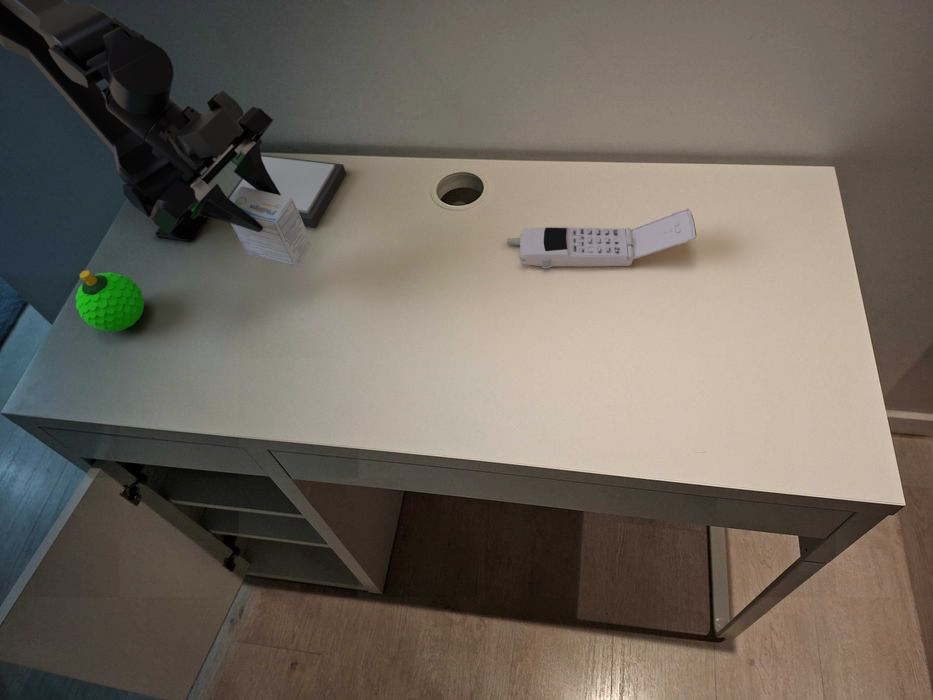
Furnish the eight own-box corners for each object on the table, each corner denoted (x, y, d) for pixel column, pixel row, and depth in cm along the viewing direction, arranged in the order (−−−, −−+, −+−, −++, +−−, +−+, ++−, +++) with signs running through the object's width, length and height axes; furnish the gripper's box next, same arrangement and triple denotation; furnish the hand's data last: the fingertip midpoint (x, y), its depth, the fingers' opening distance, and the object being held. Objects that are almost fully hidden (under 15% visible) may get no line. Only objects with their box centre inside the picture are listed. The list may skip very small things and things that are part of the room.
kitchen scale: (225, 216, 96) (219, 204, 94) (262, 163, 103) (256, 151, 101) (314, 229, 93) (309, 216, 91) (346, 173, 100) (342, 161, 98)
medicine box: (313, 245, 81) (294, 196, 73) (297, 269, 78) (275, 221, 71) (264, 232, 83) (240, 184, 75) (247, 255, 80) (220, 207, 73)
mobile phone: (698, 238, 77) (504, 239, 80) (688, 270, 82) (506, 270, 84) (692, 207, 80) (506, 209, 83) (682, 239, 85) (507, 239, 88)
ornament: (88, 325, 86) (41, 279, 78) (136, 289, 89) (96, 242, 81) (118, 352, 82) (72, 308, 74) (166, 314, 86) (127, 268, 77)
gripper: (114, 141, 58) (247, 249, 64) (230, 40, 67) (338, 144, 73) (101, 185, 67) (220, 277, 73) (206, 90, 75) (303, 179, 82)
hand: (272, 217), depth 75 cm, fingers closed on medicine box, 4 cm apart
